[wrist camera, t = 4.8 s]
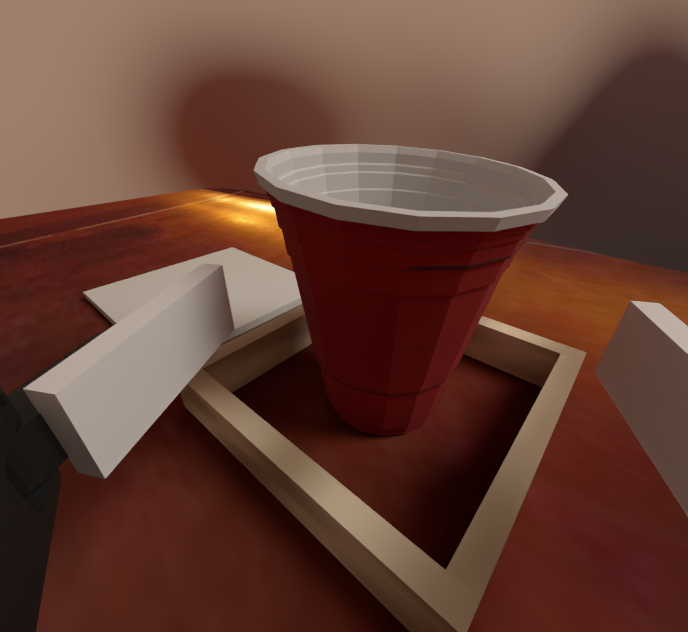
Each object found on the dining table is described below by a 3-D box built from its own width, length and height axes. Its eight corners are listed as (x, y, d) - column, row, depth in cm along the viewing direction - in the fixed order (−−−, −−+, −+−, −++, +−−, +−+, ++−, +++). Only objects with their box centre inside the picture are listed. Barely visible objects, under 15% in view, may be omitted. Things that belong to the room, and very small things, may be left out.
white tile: (85, 298, 28) (83, 291, 28) (233, 252, 37) (232, 247, 37) (163, 372, 20) (160, 364, 20) (326, 291, 29) (326, 285, 29)
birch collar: (184, 406, 18) (172, 369, 17) (361, 302, 28) (363, 274, 26) (447, 669, 10) (464, 637, 8) (569, 387, 19) (586, 352, 18)
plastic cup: (388, 552, 12) (438, 208, 6) (246, 389, 19) (200, 153, 13) (528, 405, 18) (626, 158, 12) (381, 322, 25) (394, 139, 19)
